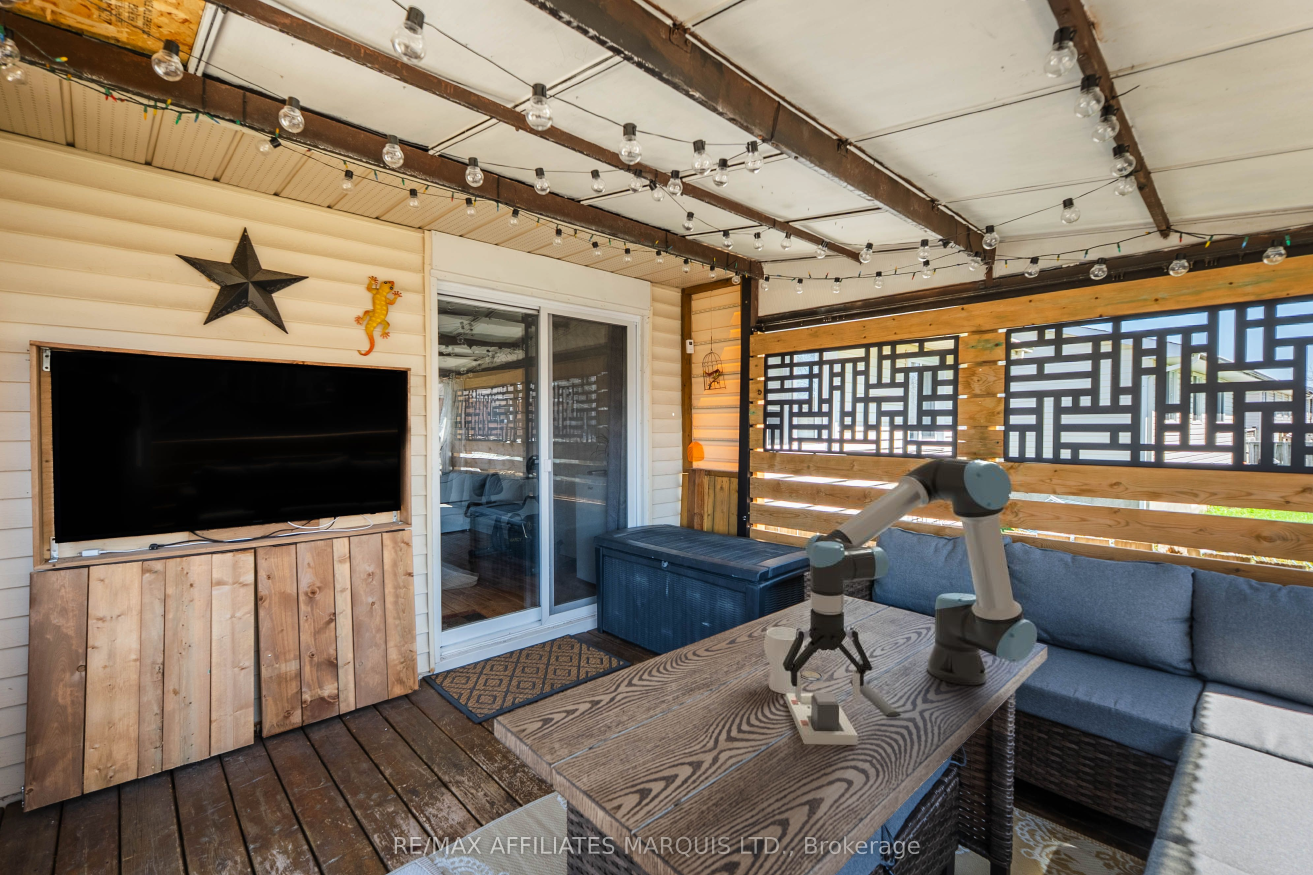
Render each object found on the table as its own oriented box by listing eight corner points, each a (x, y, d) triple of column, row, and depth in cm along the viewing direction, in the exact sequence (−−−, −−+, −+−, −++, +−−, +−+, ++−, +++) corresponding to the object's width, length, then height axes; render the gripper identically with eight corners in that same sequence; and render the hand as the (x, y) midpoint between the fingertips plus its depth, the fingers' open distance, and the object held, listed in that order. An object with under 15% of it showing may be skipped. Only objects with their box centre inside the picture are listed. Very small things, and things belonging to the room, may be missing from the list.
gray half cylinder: (862, 682, 165) (863, 676, 165) (901, 717, 146) (902, 710, 146) (848, 683, 165) (848, 677, 165) (885, 718, 145) (886, 711, 145)
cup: (804, 698, 154) (805, 641, 154) (763, 694, 157) (763, 638, 156) (802, 680, 165) (803, 627, 164) (763, 677, 167) (764, 624, 167)
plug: (831, 724, 140) (832, 691, 140) (838, 736, 135) (839, 701, 135) (810, 724, 140) (811, 691, 140) (817, 736, 135) (817, 701, 135)
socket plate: (832, 701, 153) (832, 693, 153) (857, 744, 133) (857, 734, 133) (785, 701, 153) (785, 692, 153) (804, 743, 133) (804, 733, 133)
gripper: (875, 603, 140) (874, 691, 141) (770, 604, 141) (770, 691, 141) (887, 614, 133) (886, 706, 134) (776, 615, 133) (776, 707, 134)
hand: (827, 699), depth 138 cm, fingers open, 13 cm apart
